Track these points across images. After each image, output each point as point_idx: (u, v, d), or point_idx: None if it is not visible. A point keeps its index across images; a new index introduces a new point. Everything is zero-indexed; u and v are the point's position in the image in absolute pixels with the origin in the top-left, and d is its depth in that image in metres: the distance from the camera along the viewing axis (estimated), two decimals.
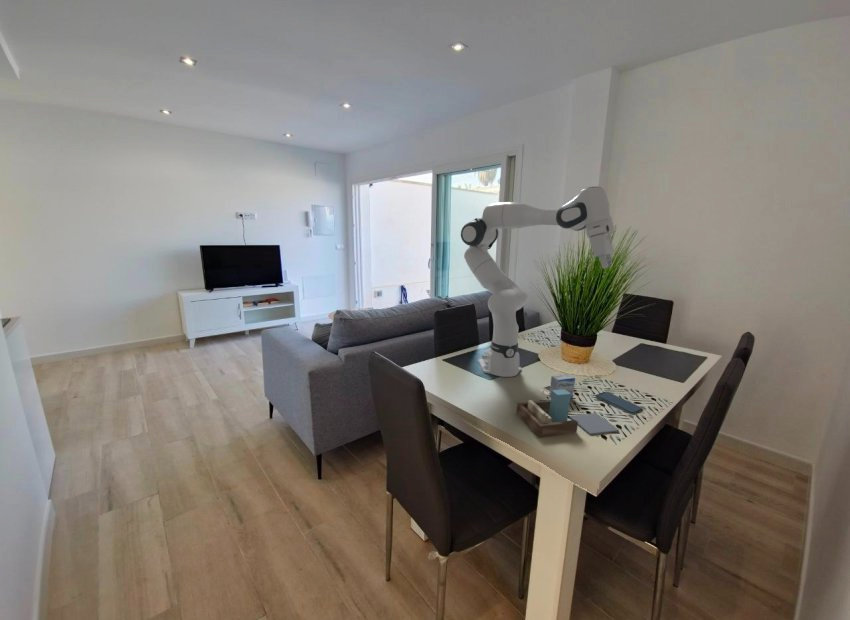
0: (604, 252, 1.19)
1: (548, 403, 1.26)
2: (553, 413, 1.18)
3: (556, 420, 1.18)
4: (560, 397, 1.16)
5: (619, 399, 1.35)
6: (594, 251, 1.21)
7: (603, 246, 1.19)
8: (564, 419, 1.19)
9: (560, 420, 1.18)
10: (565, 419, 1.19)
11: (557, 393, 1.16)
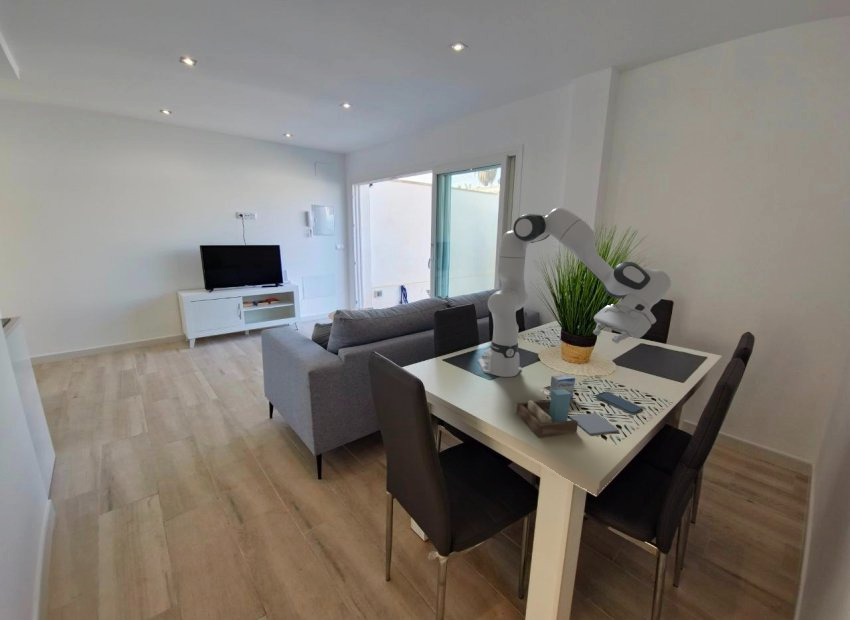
0: (639, 337, 1.13)
1: (548, 403, 1.26)
2: (553, 413, 1.18)
3: (556, 420, 1.18)
4: (561, 397, 1.16)
5: (619, 399, 1.35)
6: (638, 329, 1.12)
7: (644, 333, 1.13)
8: (564, 419, 1.19)
9: (560, 420, 1.18)
10: (565, 419, 1.19)
11: (557, 393, 1.16)
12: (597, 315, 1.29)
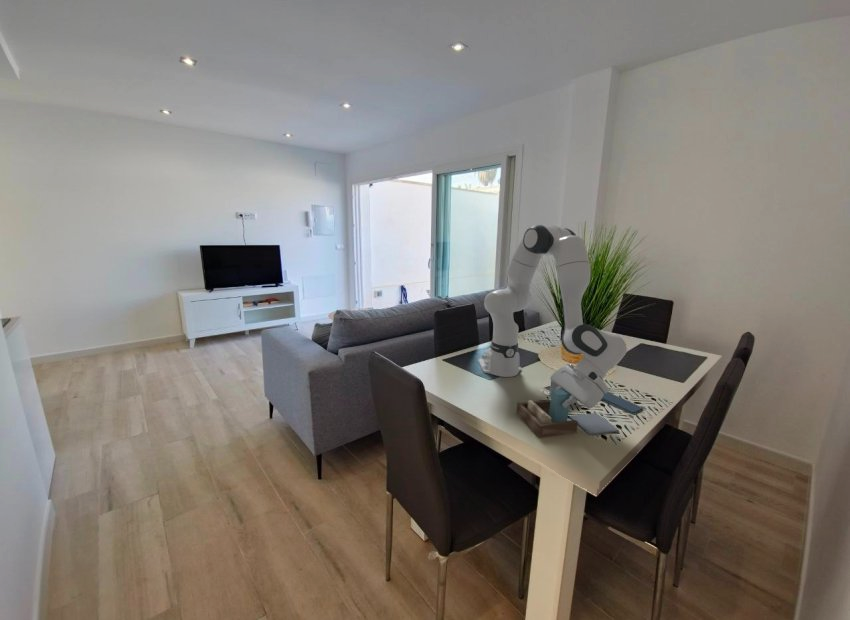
0: (590, 407, 1.10)
1: (548, 403, 1.26)
2: (553, 413, 1.18)
3: (556, 420, 1.18)
4: (560, 397, 1.16)
5: (619, 399, 1.35)
6: (589, 400, 1.09)
7: (596, 403, 1.10)
8: (564, 419, 1.19)
9: (560, 420, 1.18)
10: (565, 419, 1.19)
11: (557, 393, 1.16)
12: (554, 375, 1.26)
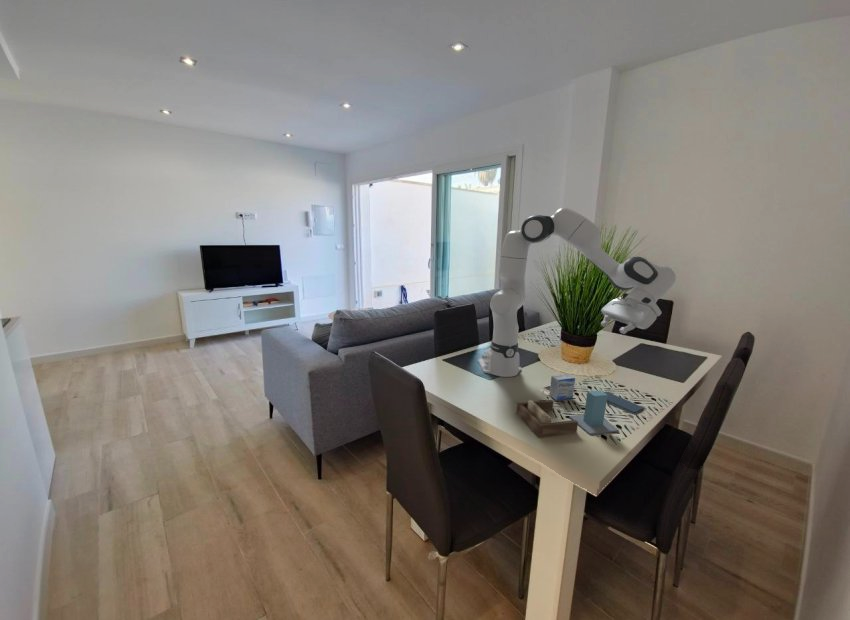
0: (645, 328, 1.20)
1: (548, 403, 1.26)
2: (590, 414, 1.17)
3: (592, 421, 1.16)
4: (597, 398, 1.15)
5: (620, 399, 1.35)
6: (644, 320, 1.19)
7: (650, 324, 1.20)
8: (600, 420, 1.17)
9: (596, 421, 1.17)
10: (601, 420, 1.17)
11: (594, 394, 1.15)
12: (605, 308, 1.36)
